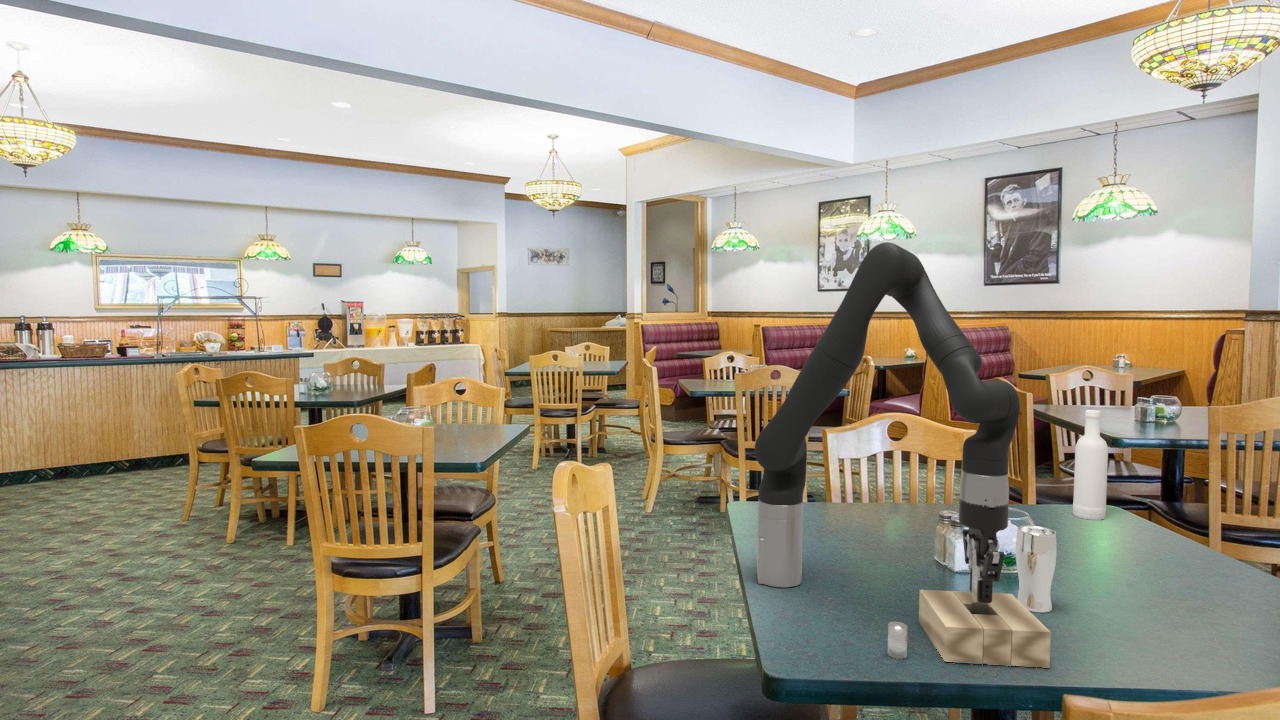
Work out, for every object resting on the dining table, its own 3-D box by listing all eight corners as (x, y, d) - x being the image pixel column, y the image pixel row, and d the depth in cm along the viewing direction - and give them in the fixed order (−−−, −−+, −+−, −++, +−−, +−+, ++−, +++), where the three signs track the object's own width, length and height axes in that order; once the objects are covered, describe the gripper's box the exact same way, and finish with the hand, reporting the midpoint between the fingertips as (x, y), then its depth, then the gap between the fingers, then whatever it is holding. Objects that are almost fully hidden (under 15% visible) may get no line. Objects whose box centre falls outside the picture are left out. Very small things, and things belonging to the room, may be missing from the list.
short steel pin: (889, 658, 118) (890, 628, 118) (885, 650, 121) (886, 621, 121) (908, 659, 118) (909, 629, 118) (904, 651, 121) (904, 622, 121)
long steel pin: (974, 624, 122) (976, 543, 122) (968, 617, 125) (970, 538, 124) (992, 625, 122) (995, 544, 121) (986, 618, 125) (989, 539, 124)
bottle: (1079, 519, 200) (1083, 411, 198) (1067, 512, 208) (1071, 408, 206) (1111, 520, 199) (1115, 412, 197) (1097, 513, 206) (1102, 408, 204)
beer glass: (1006, 600, 143) (1008, 525, 142) (1039, 598, 144) (1042, 524, 143) (1028, 614, 136) (1030, 536, 135) (1063, 613, 137) (1065, 535, 136)
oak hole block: (944, 662, 117) (945, 626, 117) (918, 621, 133) (919, 589, 132) (1049, 668, 115) (1050, 632, 115) (1010, 626, 131) (1011, 593, 130)
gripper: (948, 487, 130) (945, 581, 131) (974, 508, 116) (971, 613, 117) (991, 489, 129) (988, 583, 130) (1024, 510, 115) (1020, 615, 116)
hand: (980, 597), depth 123 cm, fingers open, 3 cm apart
